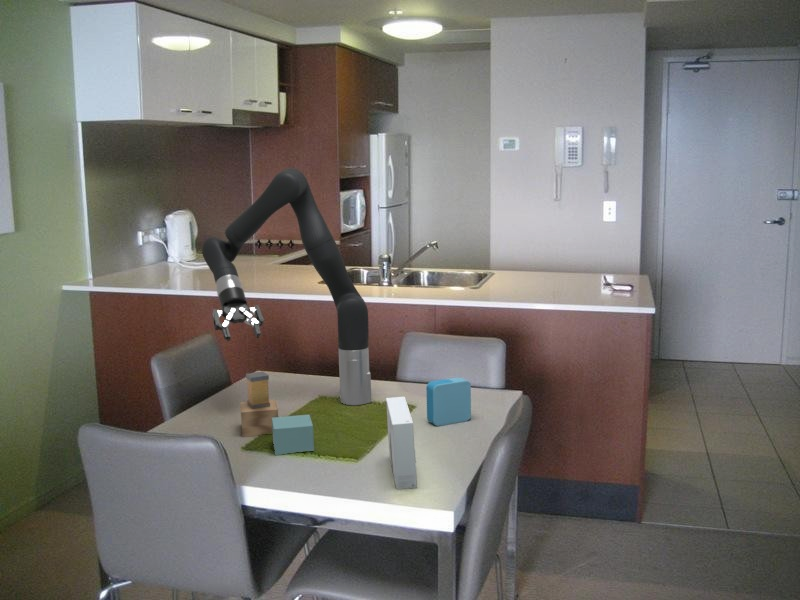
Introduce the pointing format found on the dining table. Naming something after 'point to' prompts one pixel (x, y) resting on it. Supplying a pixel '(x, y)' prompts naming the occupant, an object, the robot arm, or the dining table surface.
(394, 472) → the skincare box
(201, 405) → the dining table surface
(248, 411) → the stand
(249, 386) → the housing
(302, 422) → the stand
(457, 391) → the blue rounded flat block
